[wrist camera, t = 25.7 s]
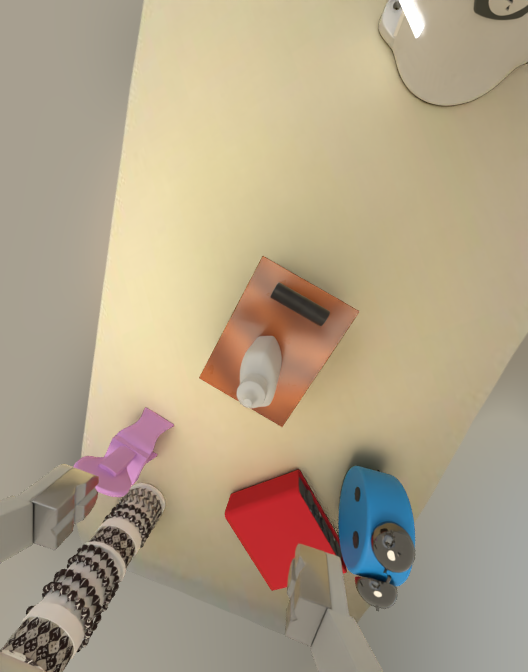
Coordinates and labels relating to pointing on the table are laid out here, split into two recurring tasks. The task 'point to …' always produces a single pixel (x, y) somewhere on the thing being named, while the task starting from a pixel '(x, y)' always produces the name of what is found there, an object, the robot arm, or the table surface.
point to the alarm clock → (376, 534)
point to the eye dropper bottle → (259, 373)
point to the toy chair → (126, 455)
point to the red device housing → (280, 525)
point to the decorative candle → (86, 584)
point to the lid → (280, 335)
